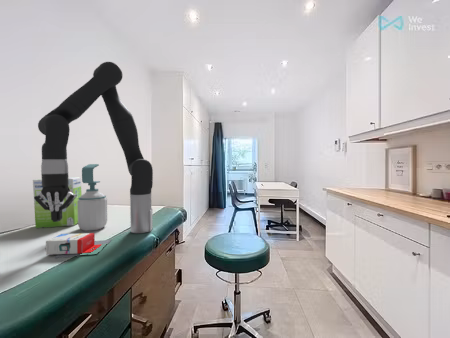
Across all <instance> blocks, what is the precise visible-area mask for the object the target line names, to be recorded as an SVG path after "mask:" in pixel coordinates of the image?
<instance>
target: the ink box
mask: <svg viewBox="0 0 450 338" xmlns="http://www.w3.org/2000/svg"><path fill="white" fill-rule="evenodd" d="M95 237H96V236H95V232H89V233H87V232H86V233H61V234H59V235H56V236H54V237H51V238H50V239H48V240H45V252H46V253H45V254H46V256H47V255H50V256H51V255H58V254H79V253H91V252H93V251H94V250H96V249H97V248H99V247H100V246H101V245H102V244H99V245H94V242H95V241H96V240H95ZM93 248H94V249H93ZM91 249H92V250H91Z"/></svg>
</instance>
